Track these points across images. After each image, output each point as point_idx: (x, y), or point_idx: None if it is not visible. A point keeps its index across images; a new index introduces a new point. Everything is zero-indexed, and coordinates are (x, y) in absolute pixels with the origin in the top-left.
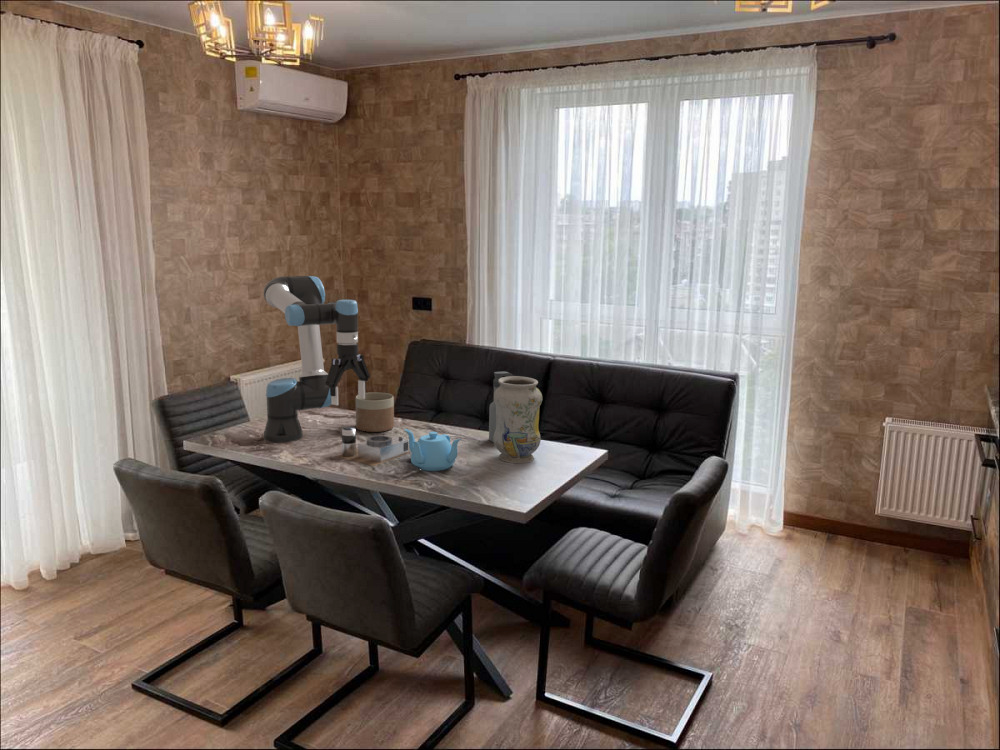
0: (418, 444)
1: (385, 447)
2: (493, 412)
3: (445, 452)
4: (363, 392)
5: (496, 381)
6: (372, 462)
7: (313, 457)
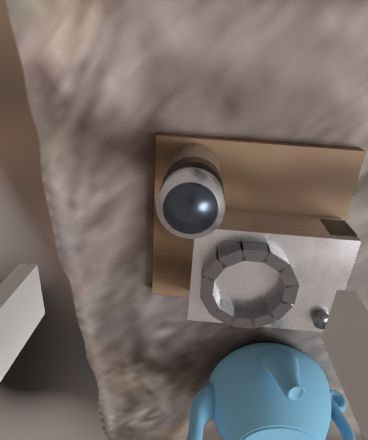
0: None
1: (212, 321)
2: None
3: None
4: (341, 380)
5: None
6: (174, 274)
7: (124, 39)
